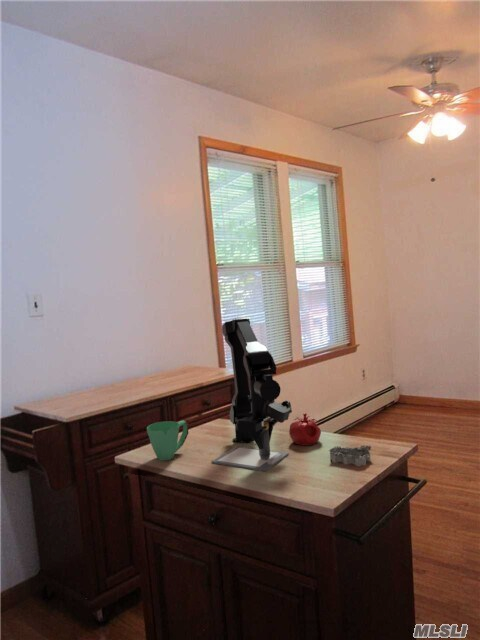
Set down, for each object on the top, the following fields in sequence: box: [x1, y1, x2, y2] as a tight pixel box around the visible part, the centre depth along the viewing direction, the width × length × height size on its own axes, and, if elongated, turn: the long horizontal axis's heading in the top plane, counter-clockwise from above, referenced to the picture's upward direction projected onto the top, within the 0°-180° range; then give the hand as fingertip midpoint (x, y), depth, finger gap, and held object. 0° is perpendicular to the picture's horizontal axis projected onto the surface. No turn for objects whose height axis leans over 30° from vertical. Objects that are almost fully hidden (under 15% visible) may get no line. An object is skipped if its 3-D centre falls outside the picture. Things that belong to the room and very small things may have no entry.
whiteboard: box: [211, 445, 290, 472], centre depth 145 cm, size 14×18×2 cm
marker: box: [258, 422, 271, 459], centre depth 142 cm, size 3×3×10 cm
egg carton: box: [328, 445, 372, 467], centre depth 137 cm, size 11×8×4 cm
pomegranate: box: [288, 412, 322, 446], centre depth 156 cm, size 10×10×9 cm
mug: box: [146, 420, 189, 461], centre depth 153 cm, size 15×10×10 cm
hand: (264, 447), depth 142 cm, fingers closed on marker, 3 cm apart
